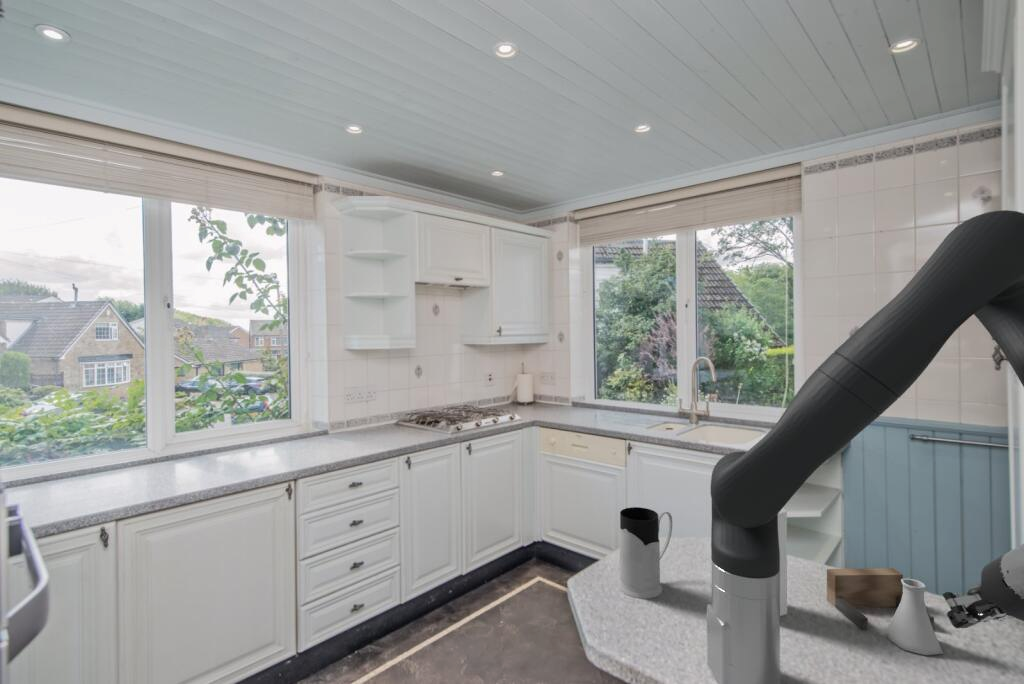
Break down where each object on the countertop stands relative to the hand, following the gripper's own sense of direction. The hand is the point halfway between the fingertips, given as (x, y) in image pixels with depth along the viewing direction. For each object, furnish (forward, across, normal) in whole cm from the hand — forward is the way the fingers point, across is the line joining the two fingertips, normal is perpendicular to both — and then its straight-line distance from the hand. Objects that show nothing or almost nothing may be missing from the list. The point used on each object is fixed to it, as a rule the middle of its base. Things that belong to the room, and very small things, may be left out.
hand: (955, 620), depth 75 cm
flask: (+11, 0, 0) cm, 11 cm away
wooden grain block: (+17, 0, -6) cm, 18 cm away
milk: (+18, +20, -7) cm, 28 cm away
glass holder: (+25, +38, -14) cm, 48 cm away
